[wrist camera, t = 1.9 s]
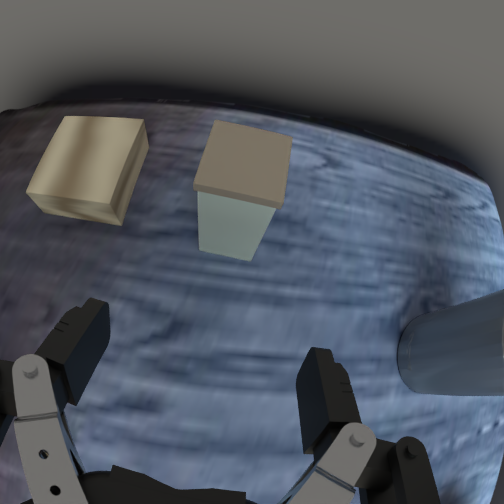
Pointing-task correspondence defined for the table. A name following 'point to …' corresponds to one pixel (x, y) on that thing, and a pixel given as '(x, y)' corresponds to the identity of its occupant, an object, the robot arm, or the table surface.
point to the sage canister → (239, 187)
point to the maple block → (90, 168)
